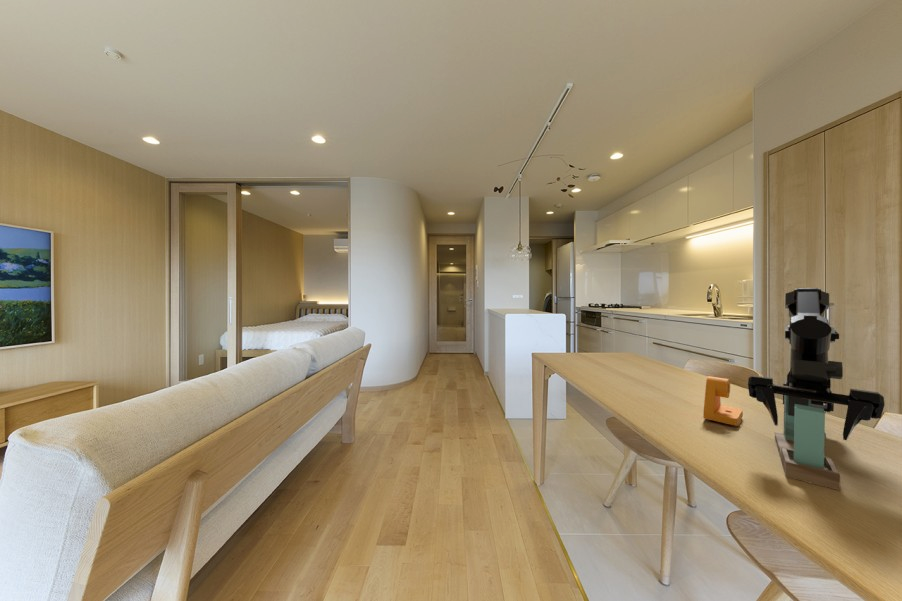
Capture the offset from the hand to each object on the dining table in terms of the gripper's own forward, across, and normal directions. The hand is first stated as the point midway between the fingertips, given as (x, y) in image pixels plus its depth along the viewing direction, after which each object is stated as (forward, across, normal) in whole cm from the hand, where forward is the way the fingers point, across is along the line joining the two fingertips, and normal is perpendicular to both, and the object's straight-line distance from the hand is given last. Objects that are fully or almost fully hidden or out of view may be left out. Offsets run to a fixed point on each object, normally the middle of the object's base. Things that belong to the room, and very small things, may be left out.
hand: (808, 431), depth 64 cm
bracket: (-10, -16, +24) cm, 31 cm away
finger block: (+5, 0, +6) cm, 8 cm away
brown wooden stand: (+1, -1, +12) cm, 12 cm away
